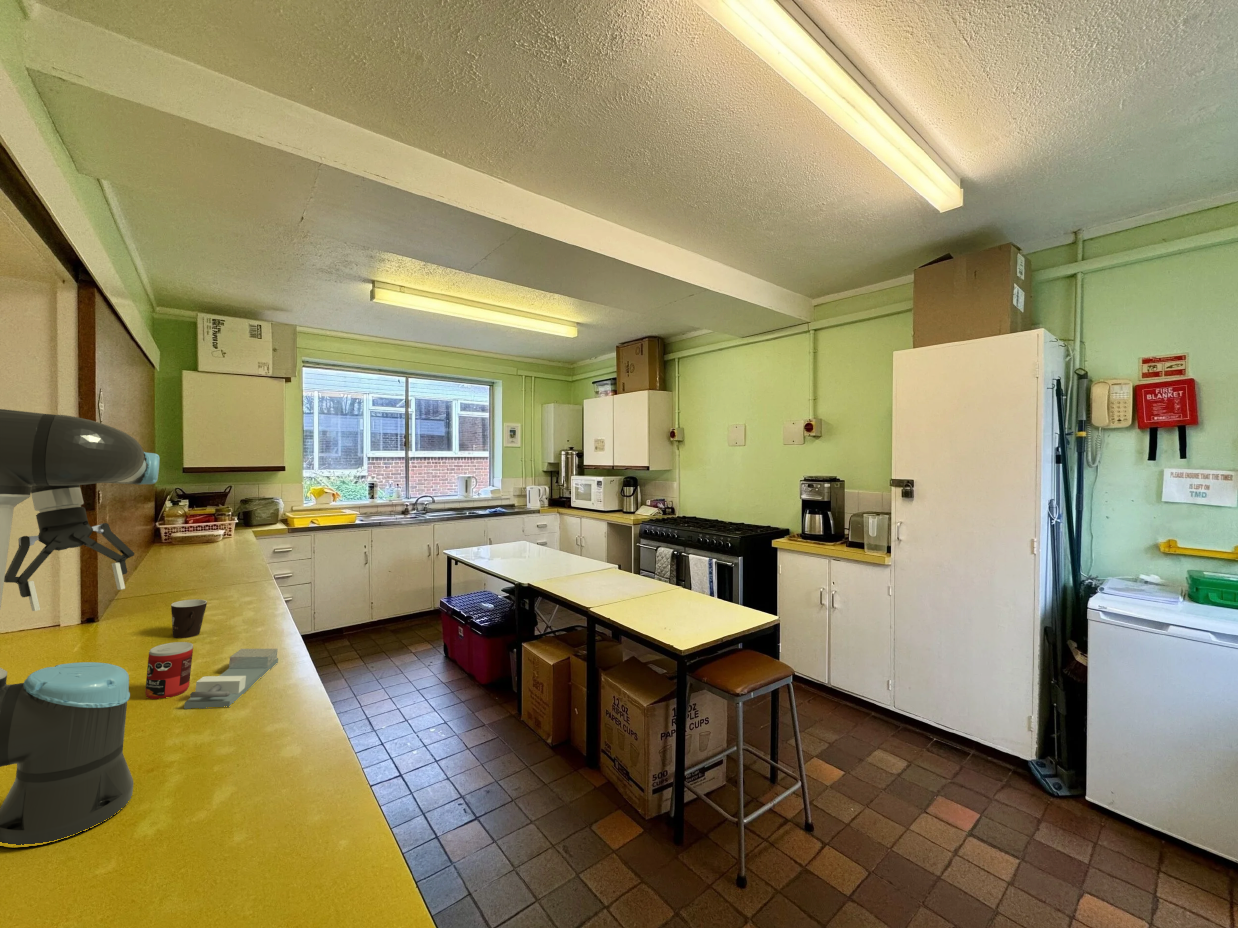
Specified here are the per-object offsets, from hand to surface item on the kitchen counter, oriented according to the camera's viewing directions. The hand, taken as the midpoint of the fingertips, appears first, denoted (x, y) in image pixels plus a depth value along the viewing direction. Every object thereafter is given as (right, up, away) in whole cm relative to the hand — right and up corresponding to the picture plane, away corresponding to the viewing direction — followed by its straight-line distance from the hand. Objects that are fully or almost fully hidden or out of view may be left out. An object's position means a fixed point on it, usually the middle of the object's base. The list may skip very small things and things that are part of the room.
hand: (81, 599), depth 113 cm
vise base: (+25, -26, +13) cm, 38 cm away
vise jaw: (+23, -24, +22) cm, 40 cm away
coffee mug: (-12, -23, +41) cm, 48 cm away
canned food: (+14, -25, +7) cm, 29 cm away
